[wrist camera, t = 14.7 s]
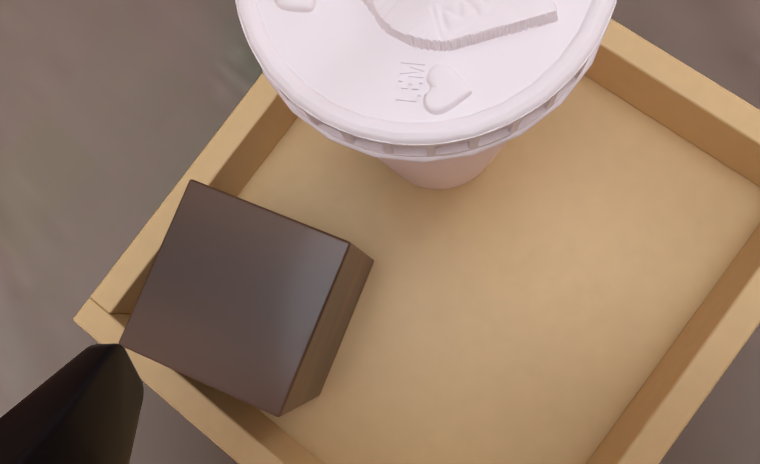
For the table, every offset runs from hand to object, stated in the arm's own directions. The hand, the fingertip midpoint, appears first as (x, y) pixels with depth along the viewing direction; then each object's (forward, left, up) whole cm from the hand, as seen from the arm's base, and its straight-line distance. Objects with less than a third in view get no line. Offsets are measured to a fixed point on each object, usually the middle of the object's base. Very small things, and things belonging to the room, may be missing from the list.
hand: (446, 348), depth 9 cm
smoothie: (+5, +4, -11) cm, 12 cm away
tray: (+2, +1, -11) cm, 11 cm away
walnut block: (-2, +5, -10) cm, 12 cm away
